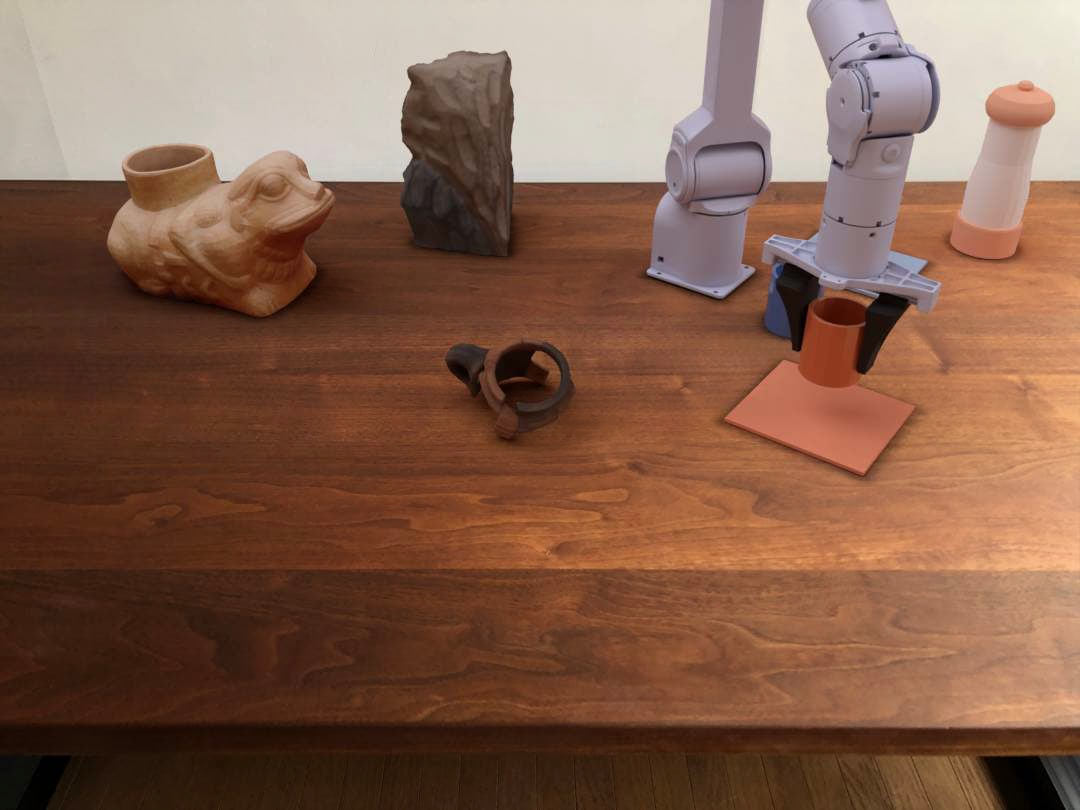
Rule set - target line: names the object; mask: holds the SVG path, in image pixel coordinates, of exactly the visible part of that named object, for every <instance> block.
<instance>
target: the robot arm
mask: <svg viewBox="0 0 1080 810" xmlns="http://www.w3.org/2000/svg"><path fill="white" fill-rule="evenodd" d="M764 6H765V0H710V6H709V8H710V9H709V17H708V29H707V39H706V40H707V41H706V52H705V62H704V63H705V64H704V74H703V75H704V76H703V86H702V99H701V105H700V106H699V107H698V108H696V109H695V110H693V112H691V113H690V114H688V115H687V116H686V117H684V118H683V119H682V120H680V121H679V122H677V123H676V124H675V125H674V126H673V130H672V134H671V140H670V146H669V149H668V152H667V154H666V157H665V165H664V172H665V182H666V186H667V190H668V191H666V193H665V194H664V195H663V196H662V197H661V199H660V201H659V203H658V205H657V207H656V210H655V214H654V218H653V227H652V240H651V241H652V242H651V252H650V253H651V255H650V267H649V268H648V269H647V270H646V275H647V276H649V277H652V278H655V279H658V280H661V281H664V282H667V283H669V284H673V285H676V286H679V287H682V288H685V289H688V290H691V291H694V292H697V293H700V294H703V295H706V296H708V297H711V298H715V299H719V300H723V299H724V298H726V297H727V296H728V295H729V294H730V293H732V292H733V291H734V290H735V289H737V288H738V287H739V286H740V285H741V284H742V283H744V282H745V281H747V279H748V278H750V277H751V276H752V275H754V274H755V273H756V269H755V267H754V266H751V265H747V264H744V263H742V262H743V257H744V255H743V254H744V249H745V248H744V247H745V242H746V241H745V240H746V233H747V225H748V224H747V223H748V216H749V209H750V207H753V206H756V202H757V197H759V196H762V195H763V194H764V193H765V192H766V191H767V189H768V187H769V185H770V183H771V180H772V176H773V158H772V157H773V156H772V149H771V148H772V132H771V130H770V128H769V127H768V125H767V124H766V122H765V121H763V120H762V119H761V118H760V117H759V116H758V115H756V114H755V113H754V112H753V104H754V94H755V85H756V78H757V68H758V61H759V60H758V58H759V49H760V43H761V32H762V26H763V25H762V23H763V16H764V8H765V7H764ZM806 19H807V22H808V25H809V28H810V30H811V32H812V35H813V38H814V41H815V43H816V45H817V47H818V48H817V49H818V50H819V53H820V56H821V58H822V61H823V63H824V66H825V69H826V71H827V74H828V76H829V79H830V86H829V87H827V88H826V93H825V110H826V111H825V112H826V117H827V118H826V119H827V124H828V133H827V138H826V145H827V153H828V154H829V155H830V156H831V158H830V159H831V160H830V166H829V169H828V170H829V171H828V177H827V182H826V183H827V184H826V188H825V194H824V200H823V206H822V210H821V217H820V223H819V228H818V232H819V234H818V240H817V242H816V241H809V239H808V240H807V239H799V238H792V237H787V236H784V235H783V236H782V235H778V234H773V235H772V236H771V237H769V238H768V239H767V240H765V241H764V242H763V247H762V254H761V261H760V263H762V264H765V265H769V266H774V265H776V264H777V263H778V264H781V265H784V266H783V271H782V272H781V275H780V276H779V277H778V278H777V279H776V289H777V291H778V293H779V295H780V297H781V299H782V302H783V304H784V307H785V310H786V313H787V317H788V321H789V326H790V333H791V338H790V341H791V351H794V352H797V353H800V351H801V345H802V339H803V333H804V328H805V322H806V316H807V310H808V305H809V304H810V303H811V302H812V301H813V300H814V299H817V297H818V293H819V290H820V286H821V285H822V286H825V287H826V288H828V289H831V290H835V291H842V290H845V289H844V288H845V287H848V288H855V289H863V290H866V291H869V292H873V293H876V294H879V297H878V298H874V300H873V301H872V302H871V303H870V304H869V305H868V307H867V308H866V312H865V334H864V342H863V346H862V350H861V353H860V357H859V361H858V365H857V373H860V374H862V375H864V376H865V375H866V374H867V373H869V371H870V370H871V369H872V368H873V366H874V364H875V362H876V359H877V356H878V354H879V353H880V350H881V349H882V346H883V345H884V343H885V341H886V339H887V338H888V336H889V335H890V333H891V331H892V330H893V328H894V327H895V326H896V324H897V323H898V321H899V320H900V319H901V318H902V317H903V315H904V314H905V313H906V311H908V309H909V308H910V307H911V306H915V310H916V311H918V312H921V313H924V314H930V313H931V311H933V309H934V308H935V307H936V305H937V304H938V301H939V297H940V293H941V289H942V286H943V285H942V284H943V283H942V282H939V281H937V280H933V279H931V278H929V277H925V276H923V275H921V274H919V273H918V274H917V273H915V272H913V271H911V270H909V269H907V268H905V267H903V266H901V265H899V264H897V263H895V262H893V261H891V260H889V259H888V257H889V252H890V250H891V247H892V242H893V238H894V234H895V230H896V224H897V220H898V215H899V211H900V206H901V202H902V197H903V193H904V187H905V181H906V178H907V175H908V170H909V165H910V160H911V155H912V151H913V146H914V142H915V141H914V140H915V136H914V135H916V134H917V135H918V134H923V133H925V132H926V131H928V130H929V129H930V127H932V125H933V123H934V122H935V120H936V117H937V115H938V112H939V109H940V104H941V103H940V102H941V84H940V83H941V82H940V78H939V74H938V72H937V68H936V64H935V62H934V60H933V59H932V58H931V57H930V56H929V55H927V54H926V53H923V52H919V51H918V50H917V49H916V47H915V44H911V43H906V42H904V39H903V37H902V35H901V32H900V29H899V27H898V24H897V23H896V21H895V18H894V16H893V13H892V11H891V9H890V6H889V4H888V1H887V0H810V1H809V3H808V6H807V9H806Z"/></svg>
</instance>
